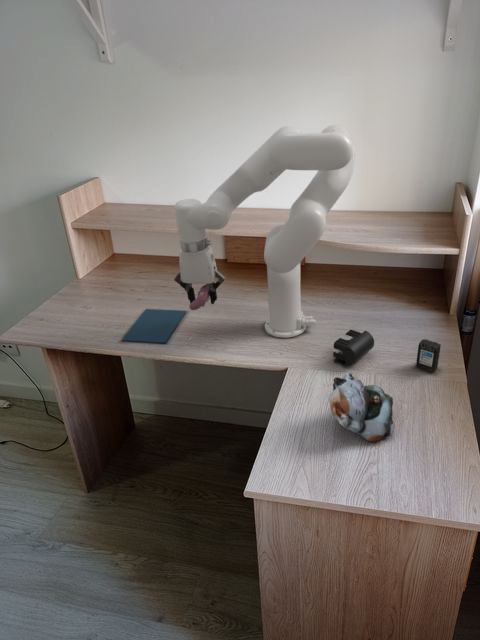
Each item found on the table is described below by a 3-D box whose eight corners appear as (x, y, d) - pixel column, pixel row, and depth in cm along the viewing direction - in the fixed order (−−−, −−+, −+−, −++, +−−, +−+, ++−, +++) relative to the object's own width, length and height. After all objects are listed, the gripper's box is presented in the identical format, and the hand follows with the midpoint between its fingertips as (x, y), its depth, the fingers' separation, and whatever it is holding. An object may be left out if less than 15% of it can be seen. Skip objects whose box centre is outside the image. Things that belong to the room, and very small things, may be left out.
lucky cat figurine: (393, 448, 111) (368, 411, 103) (342, 452, 118) (315, 418, 110) (398, 392, 121) (375, 355, 113) (351, 399, 127) (326, 364, 119)
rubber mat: (186, 312, 170) (186, 310, 170) (165, 344, 154) (165, 342, 153) (146, 310, 173) (146, 309, 172) (121, 341, 156) (121, 339, 156)
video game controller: (201, 316, 152) (209, 297, 148) (187, 309, 152) (194, 290, 148) (211, 300, 160) (218, 282, 156) (197, 294, 160) (204, 276, 156)
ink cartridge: (415, 367, 136) (418, 342, 132) (419, 363, 138) (422, 338, 134) (433, 373, 134) (437, 347, 129) (437, 369, 135) (441, 343, 131)
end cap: (354, 371, 137) (356, 349, 133) (332, 362, 141) (332, 341, 137) (373, 354, 143) (375, 333, 139) (351, 346, 147) (352, 325, 143)
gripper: (226, 239, 147) (233, 296, 157) (169, 240, 151) (180, 296, 160) (220, 249, 141) (228, 308, 150) (160, 250, 144) (172, 307, 154)
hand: (203, 301), depth 155 cm, fingers closed on video game controller, 5 cm apart
